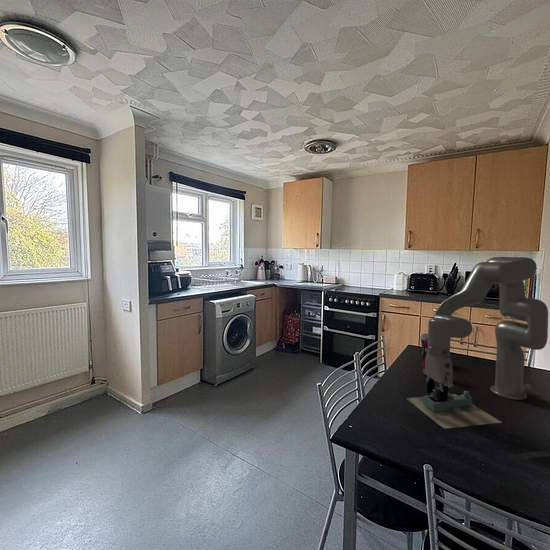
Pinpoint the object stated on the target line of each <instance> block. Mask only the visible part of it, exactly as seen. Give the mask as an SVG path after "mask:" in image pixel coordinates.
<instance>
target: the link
mask: <svg viewBox="0 0 550 550" xmlns="http://www.w3.org/2000/svg"><path fill="white" fill-rule="evenodd" d="M422 397H423V404H425V405H426V406H427V407H428V408H430V409H431V410H432V411H434V412H436V411H448V410H449V408H454V407H472V404H473V397H472V396H470V391H468V390H464V391H463V394H460V395H458V396H454V400H447V401H442V402H434V401H432V395H431V394H430V395H422Z"/></svg>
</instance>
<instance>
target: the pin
mask: <svg viewBox="0 0 550 550" xmlns="http://www.w3.org/2000/svg"><path fill="white" fill-rule="evenodd" d="M439 391H440V390H439V389H436V388H434V389H433V395H432V401H434V402H440V401H439Z"/></svg>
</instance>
